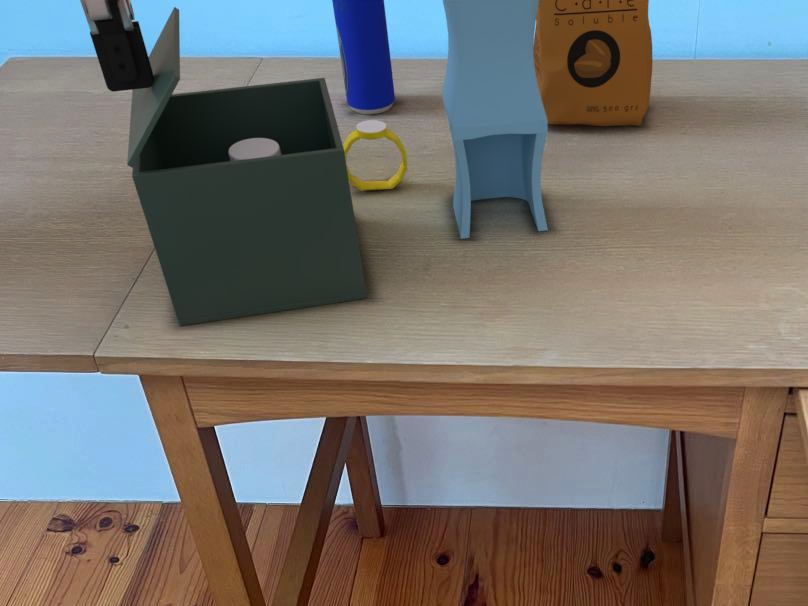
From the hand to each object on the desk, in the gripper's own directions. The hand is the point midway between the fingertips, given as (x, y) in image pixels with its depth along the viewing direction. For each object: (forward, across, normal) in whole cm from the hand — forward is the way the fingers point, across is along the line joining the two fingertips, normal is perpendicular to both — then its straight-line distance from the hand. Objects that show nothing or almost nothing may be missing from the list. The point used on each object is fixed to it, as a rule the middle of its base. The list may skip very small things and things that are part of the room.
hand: (131, 84), depth 73 cm
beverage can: (+16, -31, +20) cm, 40 cm away
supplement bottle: (+16, 0, +8) cm, 17 cm away
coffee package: (+16, -22, +42) cm, 50 cm away
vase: (+16, -4, +28) cm, 32 cm away
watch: (+16, -12, +18) cm, 27 cm away
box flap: (0, 0, +2) cm, 2 cm away
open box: (+16, 0, +7) cm, 17 cm away
